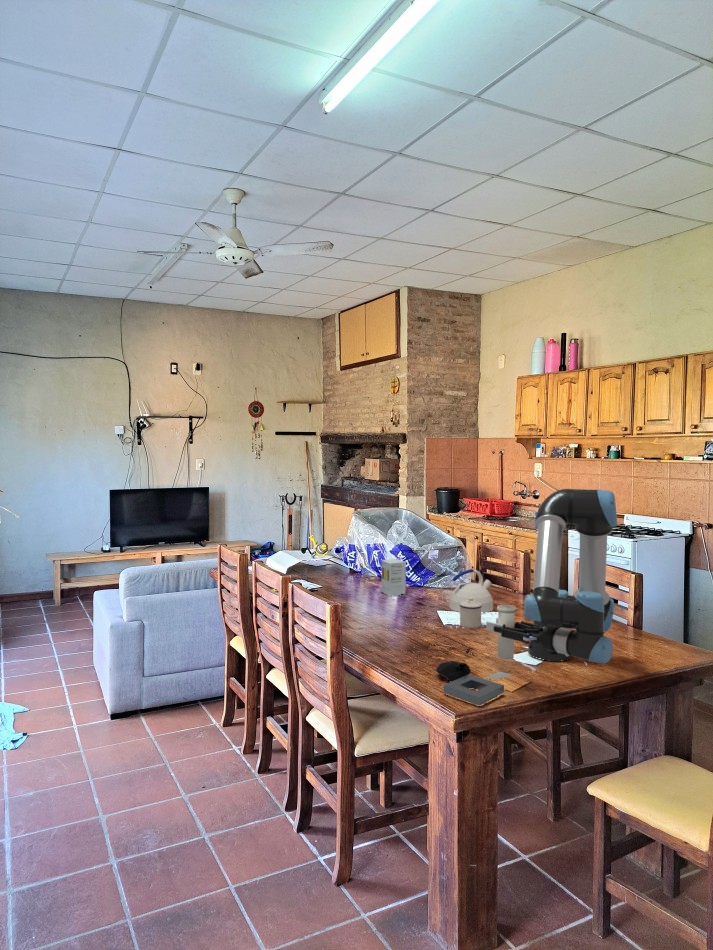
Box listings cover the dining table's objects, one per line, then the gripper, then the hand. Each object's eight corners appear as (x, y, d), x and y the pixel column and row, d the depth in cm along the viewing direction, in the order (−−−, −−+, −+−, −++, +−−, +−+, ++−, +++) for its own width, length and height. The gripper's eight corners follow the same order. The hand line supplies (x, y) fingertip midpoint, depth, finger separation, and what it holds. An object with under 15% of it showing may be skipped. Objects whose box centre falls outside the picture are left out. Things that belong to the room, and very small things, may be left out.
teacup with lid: (485, 627, 266) (485, 599, 266) (465, 629, 264) (465, 601, 263) (472, 619, 278) (473, 593, 277) (453, 621, 276) (453, 594, 275)
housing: (468, 683, 205) (468, 674, 205) (503, 695, 196) (504, 685, 196) (443, 694, 196) (443, 685, 196) (479, 707, 187) (479, 697, 187)
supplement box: (380, 592, 327) (381, 559, 326) (396, 590, 330) (397, 558, 329) (389, 596, 318) (389, 563, 317) (406, 595, 322) (406, 561, 321)
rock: (460, 698, 209) (433, 686, 208) (462, 672, 217) (435, 661, 216) (475, 683, 203) (446, 671, 202) (476, 658, 211) (449, 646, 210)
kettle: (503, 611, 292) (503, 571, 291) (463, 615, 285) (463, 575, 284) (478, 600, 311) (479, 563, 310) (440, 604, 303) (441, 566, 302)
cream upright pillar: (502, 652, 210) (503, 604, 209) (518, 656, 206) (519, 607, 205) (492, 656, 206) (493, 607, 205) (508, 661, 202) (509, 610, 201)
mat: (499, 672, 215) (499, 671, 215) (531, 682, 207) (531, 680, 207) (478, 681, 207) (478, 680, 207) (511, 692, 198) (511, 691, 198)
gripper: (542, 659, 187) (475, 641, 203) (572, 645, 199) (506, 629, 216) (543, 633, 186) (475, 617, 203) (572, 621, 199) (507, 607, 215)
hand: (492, 624), depth 209 cm, fingers closed on cream upright pillar, 5 cm apart
